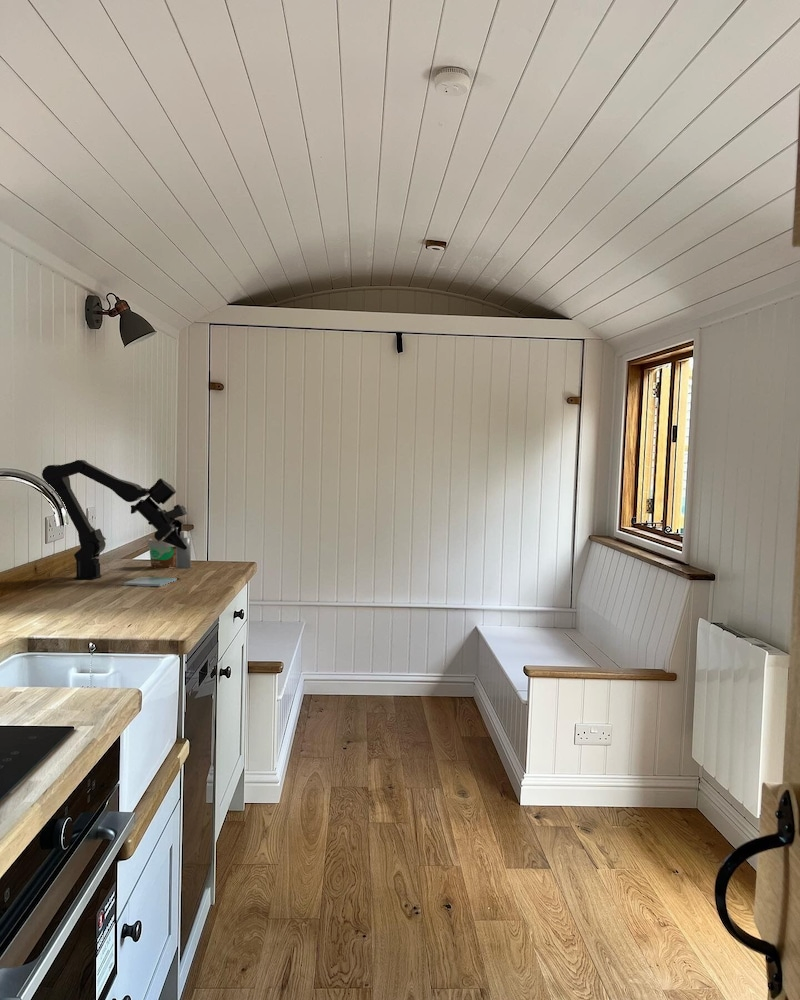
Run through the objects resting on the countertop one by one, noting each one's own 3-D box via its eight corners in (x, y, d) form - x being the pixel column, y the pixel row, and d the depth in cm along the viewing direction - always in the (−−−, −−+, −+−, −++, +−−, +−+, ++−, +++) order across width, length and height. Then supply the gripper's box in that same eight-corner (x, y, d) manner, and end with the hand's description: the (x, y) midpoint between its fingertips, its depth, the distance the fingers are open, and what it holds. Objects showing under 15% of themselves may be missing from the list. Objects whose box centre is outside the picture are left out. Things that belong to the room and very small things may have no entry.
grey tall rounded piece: (173, 568, 254) (173, 532, 253) (180, 566, 258) (180, 530, 258) (187, 568, 253) (187, 532, 252) (193, 566, 258) (193, 531, 257)
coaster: (123, 585, 241) (123, 582, 241) (142, 579, 253) (142, 576, 253) (159, 586, 239) (159, 584, 239) (176, 580, 251) (176, 578, 251)
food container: (140, 568, 275) (139, 540, 275) (150, 565, 281) (150, 538, 280) (170, 570, 272) (170, 541, 271) (180, 567, 278) (180, 540, 277)
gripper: (164, 498, 245) (200, 533, 246) (177, 495, 263) (210, 527, 265) (139, 523, 245) (174, 558, 246) (153, 517, 263) (186, 550, 265)
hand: (187, 547), depth 255 cm, fingers closed on grey tall rounded piece, 5 cm apart
